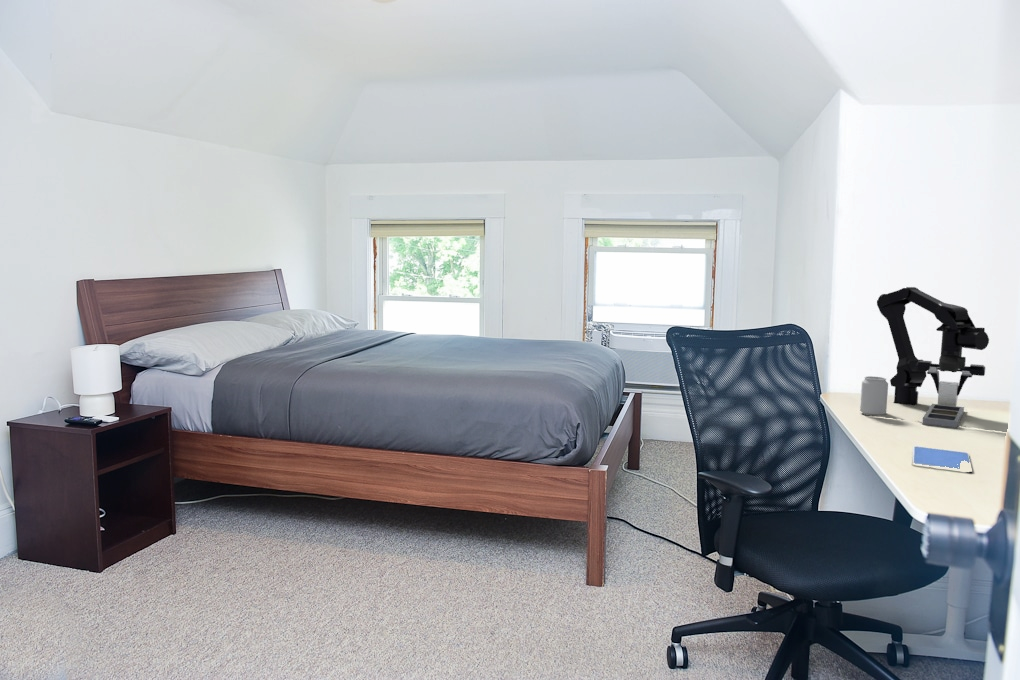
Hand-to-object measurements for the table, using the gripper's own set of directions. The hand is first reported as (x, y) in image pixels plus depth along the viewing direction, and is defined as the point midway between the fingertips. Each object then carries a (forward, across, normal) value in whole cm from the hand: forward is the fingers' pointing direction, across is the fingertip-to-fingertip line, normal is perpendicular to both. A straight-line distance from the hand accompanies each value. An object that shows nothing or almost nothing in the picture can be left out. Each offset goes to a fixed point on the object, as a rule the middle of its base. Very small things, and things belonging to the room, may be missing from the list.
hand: (948, 394), depth 233 cm
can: (+7, -19, -15) cm, 25 cm away
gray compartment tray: (+6, 0, -8) cm, 11 cm away
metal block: (+3, 0, 0) cm, 3 cm away
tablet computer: (+7, +4, -65) cm, 65 cm away
